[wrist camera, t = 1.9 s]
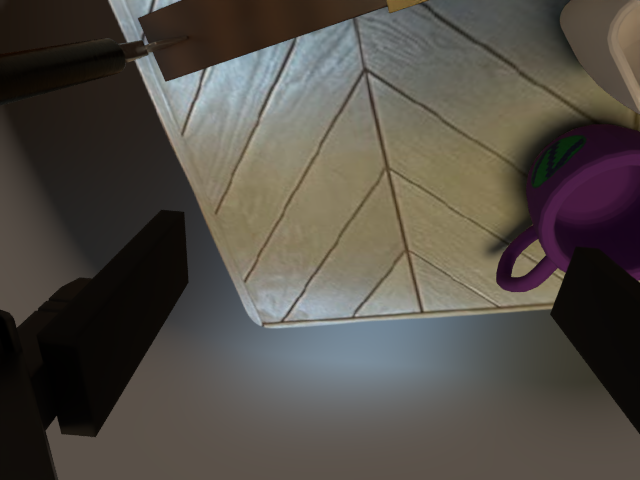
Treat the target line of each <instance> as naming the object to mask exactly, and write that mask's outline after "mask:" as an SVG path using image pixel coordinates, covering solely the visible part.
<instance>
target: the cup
mask: <svg viewBox="0 0 640 480" xmlns="http://www.w3.org/2000/svg"><path fill="white" fill-rule="evenodd" d="M560 25H561V28H562V30H563V32H564V34H565V36H566V38H567V40H568V42H569V44H570V46H571V48H572V50H573V52H574V54H575V56H576V57H577V59H578V61H579V63H580V64H581V65H582V67H583V68H584V70H585V71H586V72H587V73H588V74H589V75H590V76H591V77H592V79H593V80H594V81H595V82H596V83H597V84H598V85H599V86H600V87H601V88H603V89H604V90H605V91H606V92H607V93H608V94H610V95H611V96H612V97H614V98H615V99H616V100H618V101H619V102H621V103H622V104H623V105H625V106H627V107H628V108H630V109H632V110H633V111H635V112H636V113H638V114H640V0H571V1H570V2H569V3H568V4H566V5H565V7H564V9H563V10H562V12H561V15H560Z"/></svg>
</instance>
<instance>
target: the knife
mask: <svg viewBox="0 0 640 480" xmlns="http://www.w3.org/2000/svg"><path fill="white" fill-rule="evenodd" d="M186 39H188V38H187V36H182V37H177V38H172V39H167V40H162V41H156V42H153V43H150V44H148V45H144V43H143V41H142V40H139V41H134V42H128V43H123V44H118V43H116V42H115V41H114V40H112V39H109V38H103V39H96V40H89V41H84V42H76V43H70V44H63V45H57V46H50V47H44V48H37V49H31V50H24V51H19V52H11V53H5V54H0V106H1V105H4V104H8V103H12V102H15V101H19V100H23V99H26V98H30V97H33V96H37V95H41V94H45V93H48V92H52V91H55V90H59V89H63V88H67V87H70V86H74V85H78V84H82V83H85V82H89V81H92V80H96V79H100V78H103V77H107V76H111V75H114V74H118V73H120V72H121V71H123V69H124V67H125V63H127V62H131V61H134V60H136V59H139V58H142V57H144V56H147V55H148V53H150V52H154V51H157V50H160V49H162V48H165V47H168V46H170V45H173V44H176V43H178V42H181V41H184V40H186Z"/></svg>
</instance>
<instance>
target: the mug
mask: <svg viewBox="0 0 640 480" xmlns="http://www.w3.org/2000/svg"><path fill="white" fill-rule="evenodd" d="M526 195H527V202H528V208H529V213H530V217H531V220H532V223H533V225H532V226H530V227H529V228H528V229H526V230H525V231H524V232H522V233H521V234H520V235H519V236H518V237H517V238H516V239H514V240H513V241H512V242H511V243H510V245H509V246H508V247H507V248H506V250H505V251H504V252H503V254H502V256H501V259H500V261H499V263H498V268H497V273H496V281H497V284H498V285H499V286H500V287H501V288H502V289H504V290H507V291H511V292H526V291H529V290H531V289H533V288H536V287H538V286H539V285H540V284H541V283H543V282H544V281H545V280H546V279H547V278H548V277H549V276H550V275H551V274H552V273H553V272H554V271H555V270H556V269H557V268H559V269H560V270H562V271H564V272H566V271H567V268H568V266H569V263H570V260H571V258H572V255H573V252H574V250H575V247H576V246H577V247H588V248H599V249H600V250H601V251H602V252H604V253H605V254H606V255H607V256H608V257H610V258H611V259H612V260H613V261H614V262H616V263H617V264H618V265H619V266H620V267H622V268H623V269H624V270H625V271H626V272H628V273H629V274H630V275H631V276H632V277H634V278H635V279H636V280H637V281H638V280H640V132H639V131H636V130H633V129H629V128H625V127H620V126H616V125H611V124H592V125H588V126H584V127H580V128H575V129H573V130H571V131H569V132H567V133H565V134H563V135H561V136H559V137H558V138H556V139H555V140H554V141H552V142H551V143H550V144H549V145H547V146H546V147H545V148H544V149H543V150H542V152H541V153H540V154H539V155H538V156H537V158H536V159H535V160H534V162H533V164H532V166H531V169H530V171H529V173H528V179H527V185H526ZM537 239H539V242H540V244H541V246H542V248H543V250H544V252H545V254H546V256H545V257H544V258H543V259H542V260H541V261H540V262H539V263H538V264H537V265H536V266H535V268H533V269H532V270H531V271H530V272H529V273H528V274H526V275H525V276H522V277H511V274H512V268H513V265H514V263H515V261H516V258H517V257H518V256H519V255H520V254H521V252H522V251H523V250H524V249H526V248H527V247H528V246H529V245H530V244H531V243H533V242H534V241H535V240H537Z"/></svg>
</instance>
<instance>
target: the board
mask: <svg viewBox="0 0 640 480" xmlns="http://www.w3.org/2000/svg"><path fill="white" fill-rule="evenodd" d="M387 6H388V5H387V0H181V1H178V2H176V3H174V4H171V5H169V6H166V7H164V8H161V9H159V10H157V11H154V12H152V13H149V14H147V15H144V16H142V17H140V18H138V20H139V22H140V24H141V27H142V29H143V31H144V34H145V36H146V38H147V40H148V43H149V44H150V43H153V42H156V41H162V40H167V39H172V38H177V37H182V36H187V38H188V39H186V40H184V41H181V42H178V43H176V44H173V45H170V46H168V47H165V48H162V49H160V50H157V51H154V52H153V54H154V56H155V59H156V61H157V63H158V65H159V68H160V70H161V72H162V74H163V77H164V79H165V81H169V80H172V79H175V78H178V77H181V76H184V75H187V74H190V73H193V72H196V71H199V70H202V69H205V68H207V67H210V66H213V65H216V64H219V63H222V62H225V61H228V60H231V59H234V58H237V57H240V56H243V55H246V54H249V53H251V52H254V51H257V50H260V49H263V48H266V47H269V46H272V45H275V44H278V43H281V42H284V41H287V40H290V39H293V38H296V37H298V36H301V35H304V34H307V33H310V32H313V31H316V30H319V29H322V28H325V27H328V26H331V25H334V24H337V23H340V22H342V21H345V20H348V19H351V18H354V17H357V16H360V15H363V14H366V13H369V12H372V11H375V10H378V9H381V8H384V7H387Z"/></svg>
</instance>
